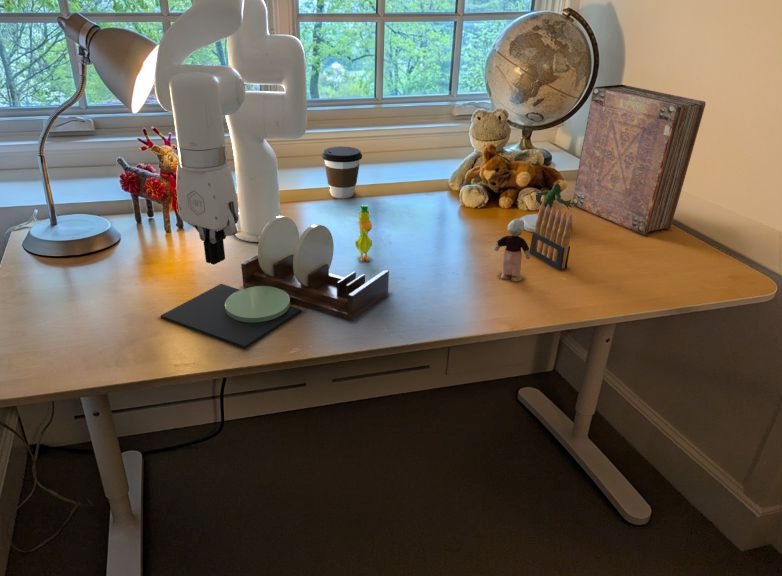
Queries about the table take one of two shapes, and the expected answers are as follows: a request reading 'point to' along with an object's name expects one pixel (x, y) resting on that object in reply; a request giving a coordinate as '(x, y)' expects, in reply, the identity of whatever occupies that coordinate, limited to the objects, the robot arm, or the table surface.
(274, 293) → the green plate
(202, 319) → the mat
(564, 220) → the ammunition clip
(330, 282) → the plate rack
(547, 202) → the monster figurine
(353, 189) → the coffee cup
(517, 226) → the grandmother figurine
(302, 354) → the table surface
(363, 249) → the toy figure
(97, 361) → the table surface
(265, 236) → the cream plate
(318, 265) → the cream plate
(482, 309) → the table surface
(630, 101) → the book
